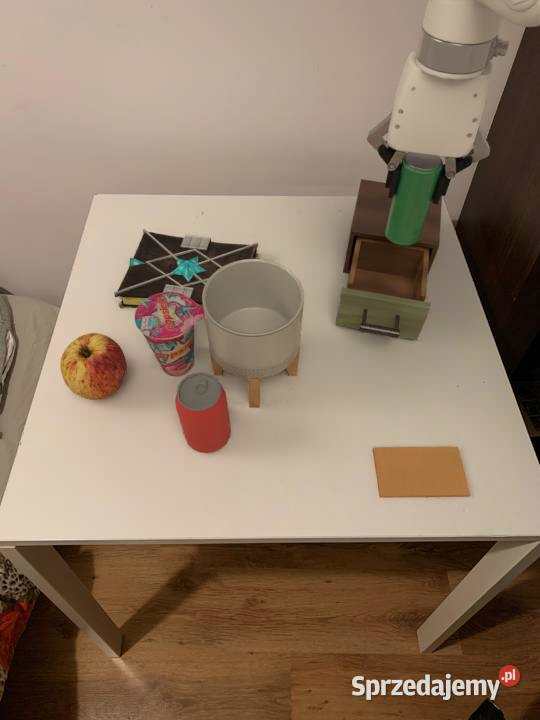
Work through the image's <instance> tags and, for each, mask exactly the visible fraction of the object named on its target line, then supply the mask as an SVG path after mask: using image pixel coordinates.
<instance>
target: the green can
mask: <svg viewBox="0 0 540 720" xmlns="http://www.w3.org/2000/svg"><path fill="white" fill-rule="evenodd" d="M443 165H444V162H443V159H442V158H441V156H434V155H426V154H419V153H411V152H406V154H405V155H404V157H403V159H402V160H401V165H400V173H399V177H398V181H397V186H396V190H395V194H394V197H393V199H392V203H391V207H390V211H389V215H388V220H387V224H386V228H385V235H386V237H387V238H388V239H389V240H390V241H391V242H393V243H395V244H398V245H412V244H415V243H416V242H418V240H419V239H420V237H421V233H422V230H423V227H424V224H425V221H426V218H427V215H428V212H429V208H430V205H431V202H432V199H433V196H434V193H435V190H436V186H437V183H438V180H439V177H440V174H441V171H442V168H443Z"/></svg>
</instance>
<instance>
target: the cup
mask: <svg viewBox="0 0 540 720" xmlns="http://www.w3.org/2000/svg"><path fill="white" fill-rule="evenodd" d="M203 318H205V315H204V309H203V308H202V307H201V306H200V305H198V304H197V303H196V302H194V301H193V300H191V299H190V298H188V297H187V296H185V295H183V294H180V293H176V292H162V293H158V294H154V295H152V296H150V297H148V298H146V299H145V300H144V301H143V302H142V303H141V304H140V305H139V306H138V307H136V310H135V312H134V322H135V325H136V328H137V329H138V330H139V331H140V332H141V333H142V335H143V337H144V338H145V341H146V343H147V344H148V346H149V348H150V350H151V351H152V353H153V355H154V357H155V359H156V360H157V362H158V363H159V365H160V367H161V368H162V369H161V370H163V372H164V373H165V374H167V375H168V376H171V377H181V376H185V375H186V374H188V373H189V372H190V371H192V369H193V368H194V364H195V325H196V324H197V323H198V322H199V321H201V320H202V319H203Z"/></svg>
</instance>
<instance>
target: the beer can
mask: <svg viewBox="0 0 540 720" xmlns="http://www.w3.org/2000/svg"><path fill="white" fill-rule="evenodd" d="M174 399H175V400H174V404H175V410H176V414H177V416H178V420H179V423H180V426H181V429H182V433H183V435H184V436H183V437H184V439H185V441H186V443H187V445H188V447H190V448H191V449H192V450H194V451H195V452H198V453H202V454H203V453H204V454H210V453H214V452H217V451H219V450H221V449H222V448H223V447H225V445H226V444H227V443H228V441H229V440H230V437H231V432H232V430H231V421H230V413H229V405H228V398H227V392H226V390H225V388H224V387H223V385H222V383H220V380H219V379H218V378H217V377H216V376H215V375H214V374H210V373H208V372H203V371H202V372H201V371H198V372H193V373H191V374H189V375H186V376H185V377H184V378H183V379H181V381H180V382H179V384H178V386H177V388H176V394H175V398H174Z"/></svg>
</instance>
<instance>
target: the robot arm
mask: <svg viewBox="0 0 540 720" xmlns="http://www.w3.org/2000/svg"><path fill="white" fill-rule="evenodd" d="M503 19H504V20H506V21H507V22H509V23H510V24H513V25H516V26H519V27H524V28H536V27H540V0H427V4H426V8H425V13H424V16H423V21H422V27H421V31H420V35H419V40H418V44H417V49H416V50H413V51H411V52H410V53H409V55H408V56H407V59H406V62H405V64H404V66H403V69H402V73H401V74H400V79H399V82H398V84H397V89H396V93H395V96H394V99H393V103H392V109H391V111H390V112H391V113H389V114H388V115H386V117H385V118H384V119H382V120H381V121H380V122H379V123H378V124H377V125H375V126H374V127H373V128H372V129H370V130H369V131H368V133H367V137H366V141H367V142H368V144H369V146H371V147H372V148H373V149H374V150H375V151H377V154H378V155H379V157H380V158H381V159H382V161H383V162H384V163H385V164H386V167H387V175H386V178H385V182H384V183H385V188H390V189H389V195H388V198H392V197H394V194H395V190H396V186H397V181H398V177H399V173H400V165H401V161H402V159H403V157H404V155H405V154H406V153H408V152H411V153H419V154H426V155H434V156H439V157H444V163H443V168H442V171H441V174H440V177H439V180H438V183H437V186H436V190H435V193H434V196H433V201H432V203H434V204H437V205H438V202H439V199H440V196H442V197H445V196H446V195H447V192H448V189H449V187H450V183H451V182H452V181H451V180H452V179H455V177H456V175H457V174H458V173H461V172H462V171H463V170H466V169H467V168H470V166H472V165H473V164H474V163H477V162H479V161H481V160H484V159H486V158H487V157H489V156H490V154H491V147H490V144H489V143H488V139H486V136H485V135H484V133H483V129H482V128H481V126H480V124H481V120H482V116H483V113H484V110H485V105H486V102H487V97H488V92H489V88H490V83H491V78H492V77H491V76H492V71H493V62H492V60H493V58H494V57H495V58H497V57H498V56H500V57H505V56H506V54H507V52H508V49H509V44H510V41H509V40H503V38H499V30H500V27H501V24H502V21H503ZM385 135H387V139H386V140H385V138H384V137H385ZM473 146H474V147H473Z"/></svg>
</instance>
